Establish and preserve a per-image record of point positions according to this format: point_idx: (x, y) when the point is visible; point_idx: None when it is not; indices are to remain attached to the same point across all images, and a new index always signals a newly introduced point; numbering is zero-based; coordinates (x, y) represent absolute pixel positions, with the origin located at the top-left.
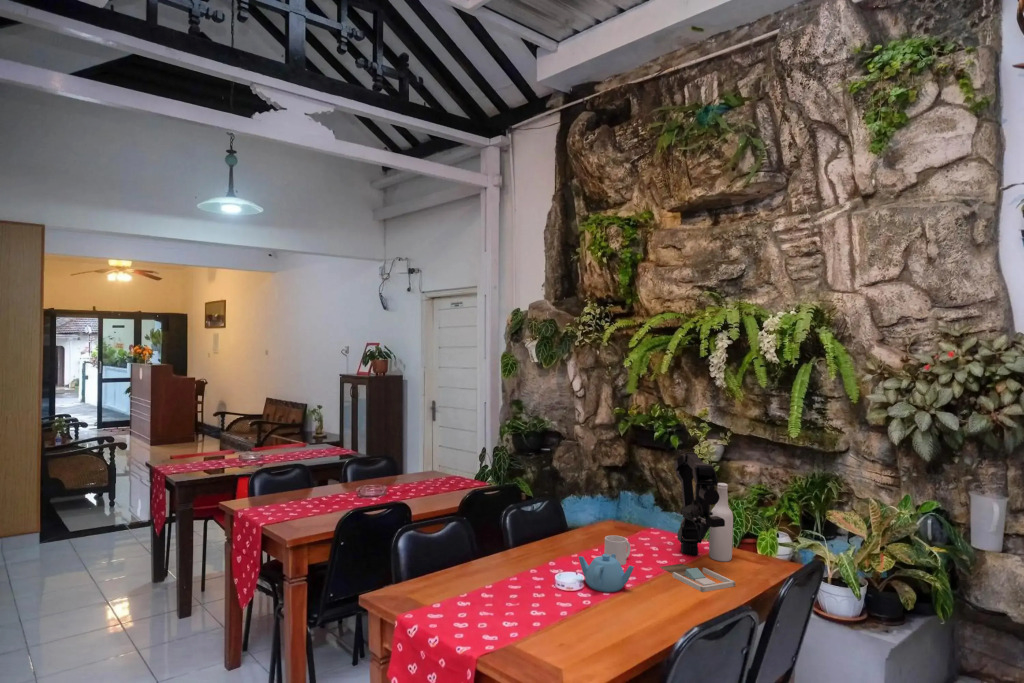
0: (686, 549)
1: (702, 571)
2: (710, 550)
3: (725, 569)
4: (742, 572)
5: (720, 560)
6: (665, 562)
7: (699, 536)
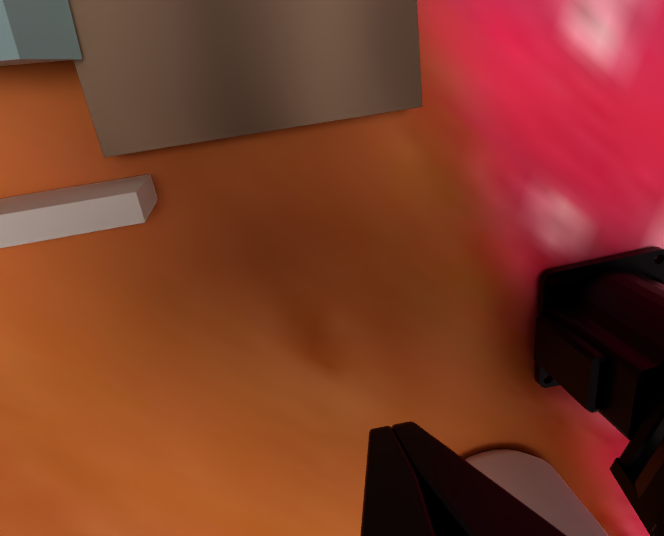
0: (630, 308)
1: (143, 183)
2: (538, 488)
3: (281, 444)
4: (201, 525)
5: None
6: (572, 18)
7: (418, 447)
